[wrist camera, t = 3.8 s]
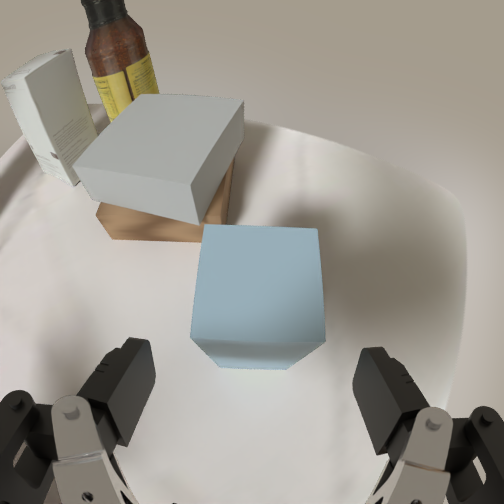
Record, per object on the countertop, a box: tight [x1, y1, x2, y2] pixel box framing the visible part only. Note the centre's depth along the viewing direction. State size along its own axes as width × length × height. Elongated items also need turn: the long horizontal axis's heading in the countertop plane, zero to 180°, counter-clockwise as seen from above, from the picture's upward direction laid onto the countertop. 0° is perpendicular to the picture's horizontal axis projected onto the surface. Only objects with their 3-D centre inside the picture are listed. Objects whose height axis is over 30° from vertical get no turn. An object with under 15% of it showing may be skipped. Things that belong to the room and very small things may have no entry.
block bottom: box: [96, 158, 234, 243], centre depth 23 cm, size 10×10×4 cm
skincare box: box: [1, 49, 98, 186], centre depth 21 cm, size 8×6×15 cm
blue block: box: [190, 224, 326, 370], centre depth 14 cm, size 4×4×10 cm
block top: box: [72, 94, 244, 226], centre depth 20 cm, size 10×10×4 cm
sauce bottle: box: [81, 0, 159, 122], centre depth 21 cm, size 7×6×20 cm
